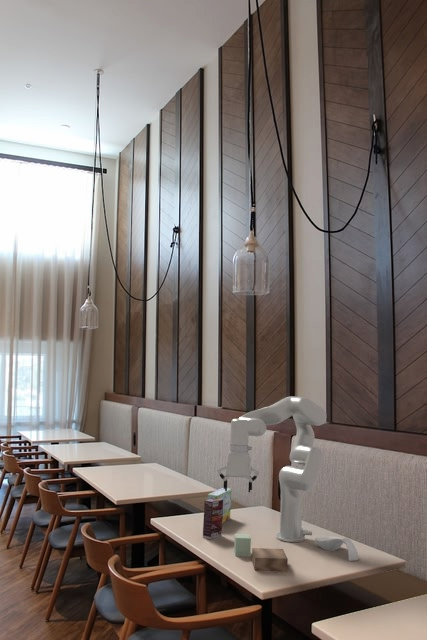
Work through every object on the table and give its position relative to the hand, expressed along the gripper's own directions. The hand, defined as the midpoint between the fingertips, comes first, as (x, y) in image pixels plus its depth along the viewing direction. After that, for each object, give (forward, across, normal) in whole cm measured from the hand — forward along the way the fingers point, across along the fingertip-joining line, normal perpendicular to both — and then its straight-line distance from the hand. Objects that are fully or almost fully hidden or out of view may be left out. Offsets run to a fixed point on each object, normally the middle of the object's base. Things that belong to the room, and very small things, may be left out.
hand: (237, 491), depth 229 cm
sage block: (+24, -3, +2) cm, 24 cm away
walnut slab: (+24, -13, +15) cm, 32 cm away
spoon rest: (+24, -42, -8) cm, 49 cm away
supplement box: (+24, +11, -20) cm, 34 cm away
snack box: (+24, +10, -46) cm, 53 cm away
